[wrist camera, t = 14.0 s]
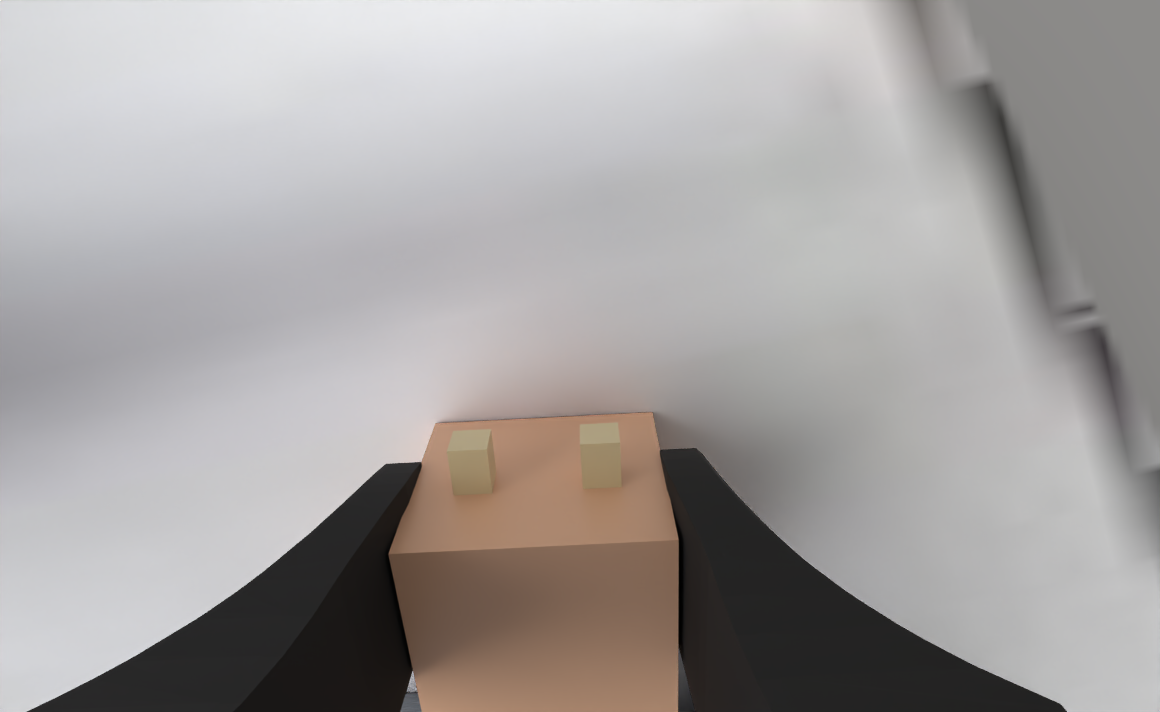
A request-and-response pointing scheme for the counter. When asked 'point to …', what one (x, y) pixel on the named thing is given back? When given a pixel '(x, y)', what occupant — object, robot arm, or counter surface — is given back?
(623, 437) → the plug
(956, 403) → the counter surface
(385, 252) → the counter surface
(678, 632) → the robot arm
